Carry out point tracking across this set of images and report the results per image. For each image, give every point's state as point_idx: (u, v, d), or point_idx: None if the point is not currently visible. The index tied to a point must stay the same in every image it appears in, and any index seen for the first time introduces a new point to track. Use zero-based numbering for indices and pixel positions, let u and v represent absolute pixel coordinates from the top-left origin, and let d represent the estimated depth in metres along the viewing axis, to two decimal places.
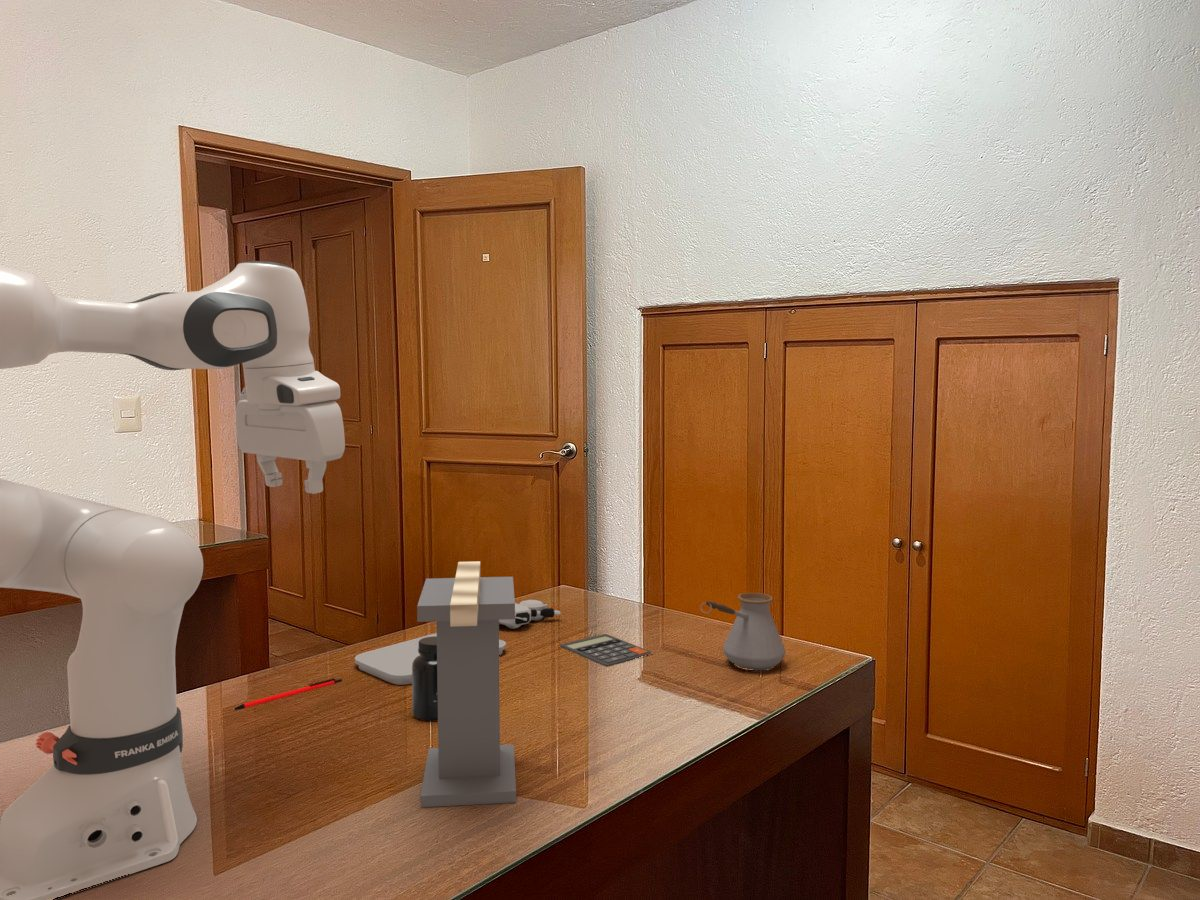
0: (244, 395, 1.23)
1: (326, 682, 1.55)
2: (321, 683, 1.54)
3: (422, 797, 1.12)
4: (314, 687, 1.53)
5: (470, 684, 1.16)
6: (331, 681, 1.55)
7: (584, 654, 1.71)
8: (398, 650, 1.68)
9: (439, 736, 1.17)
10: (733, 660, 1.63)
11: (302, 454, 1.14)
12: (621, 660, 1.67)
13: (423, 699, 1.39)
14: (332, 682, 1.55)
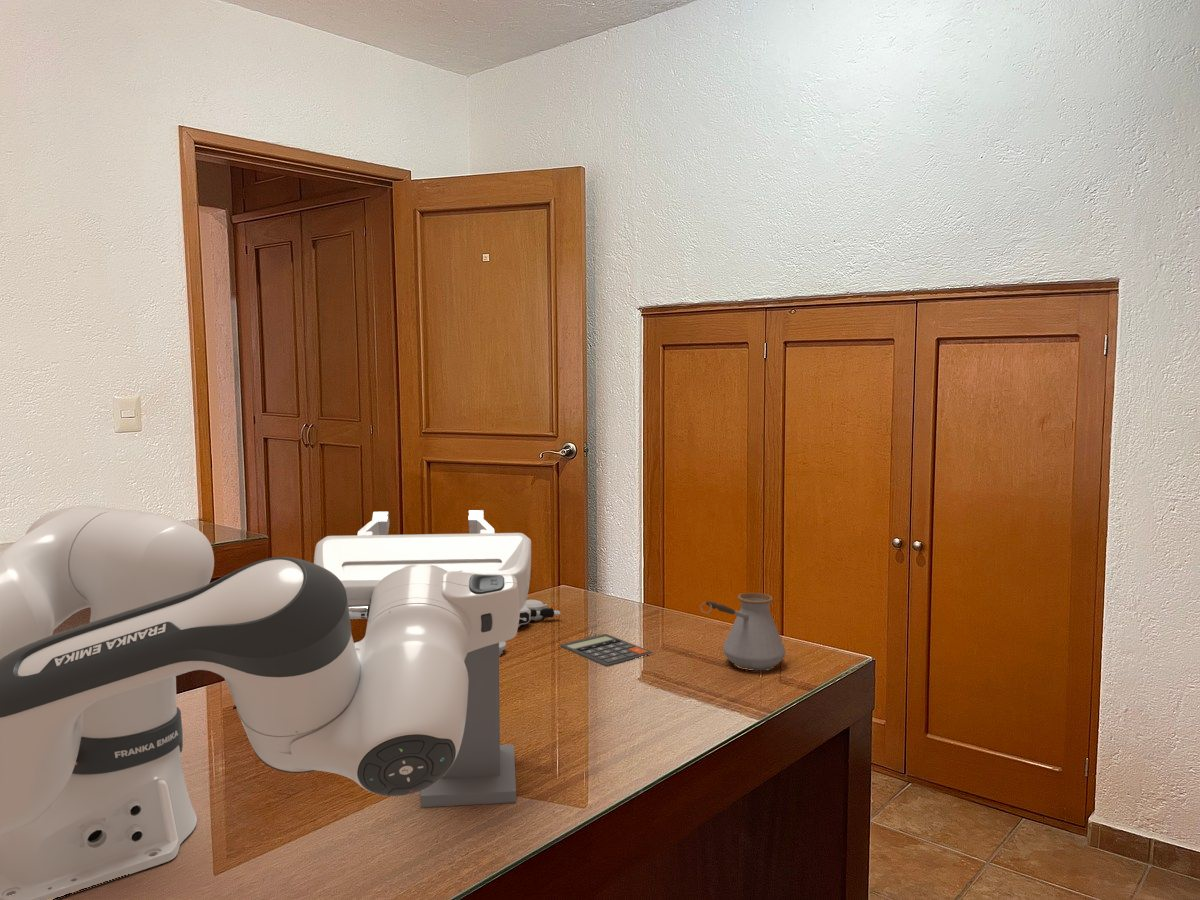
0: None
1: None
2: None
3: (422, 797, 1.12)
4: None
5: (470, 684, 1.16)
6: None
7: (584, 654, 1.71)
8: None
9: None
10: (733, 660, 1.63)
11: None
12: (621, 660, 1.67)
13: None
14: None
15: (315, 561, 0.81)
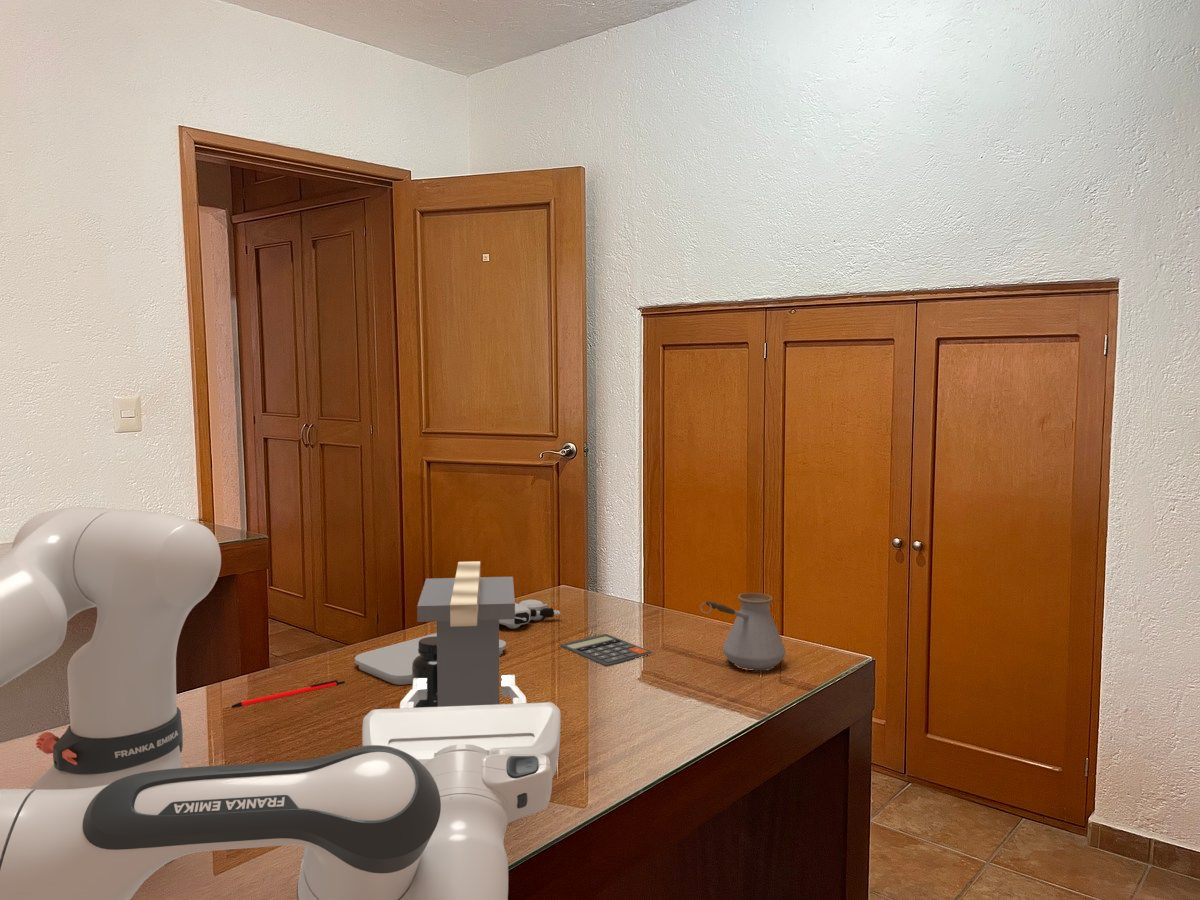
0: None
1: (328, 683, 1.54)
2: (322, 684, 1.53)
3: None
4: (315, 688, 1.52)
5: (470, 684, 1.16)
6: (333, 683, 1.54)
7: (584, 654, 1.71)
8: (398, 650, 1.68)
9: None
10: (733, 660, 1.63)
11: None
12: (621, 660, 1.67)
13: None
14: (334, 684, 1.54)
15: (363, 739, 0.88)
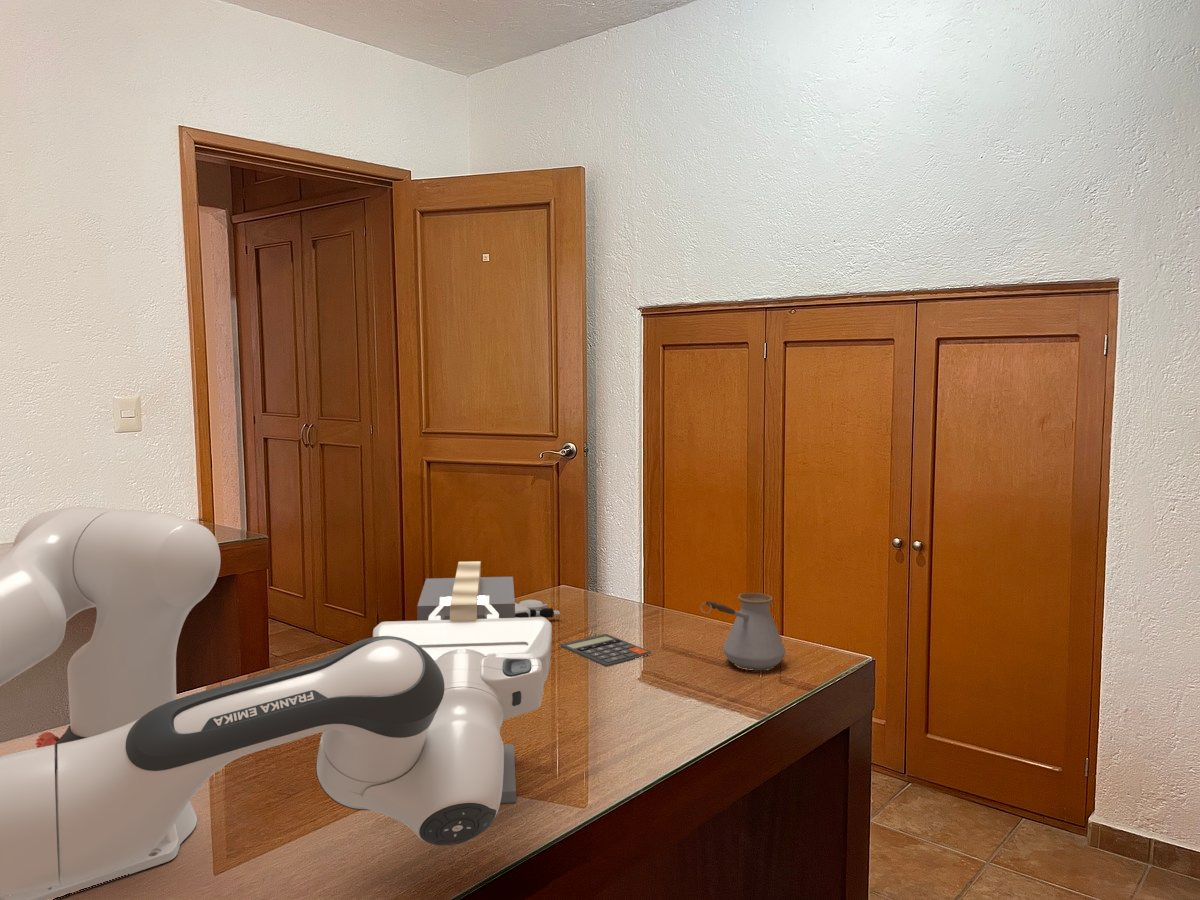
0: None
1: None
2: None
3: None
4: None
5: None
6: None
7: (584, 654, 1.71)
8: None
9: None
10: (733, 660, 1.63)
11: None
12: (621, 660, 1.67)
13: None
14: None
15: None
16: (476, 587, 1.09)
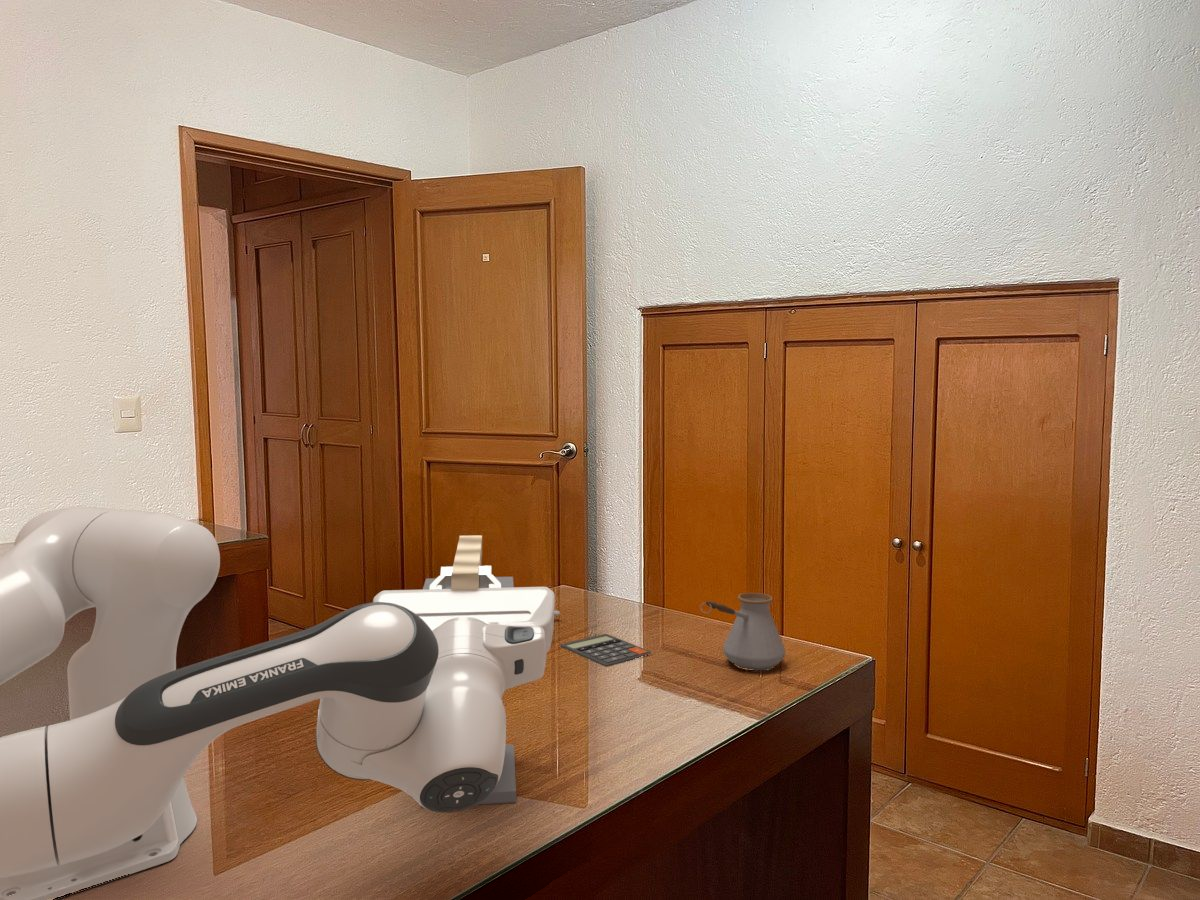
0: None
1: None
2: None
3: None
4: None
5: None
6: None
7: (584, 654, 1.71)
8: None
9: None
10: (733, 660, 1.63)
11: None
12: (621, 660, 1.67)
13: None
14: None
15: None
16: (478, 558, 1.08)
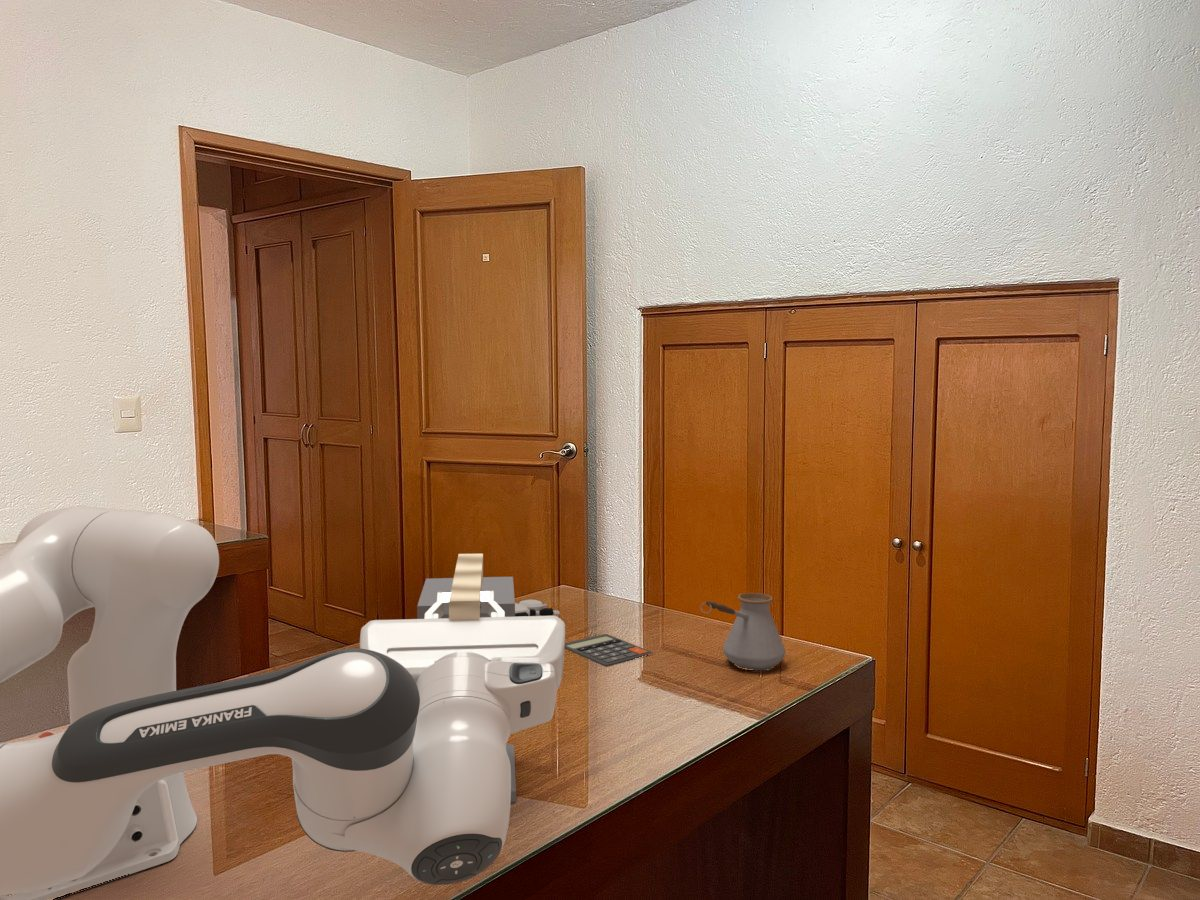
0: None
1: None
2: None
3: None
4: None
5: None
6: None
7: (584, 654, 1.71)
8: None
9: None
10: (733, 660, 1.63)
11: None
12: (621, 660, 1.67)
13: None
14: None
15: (361, 647, 0.85)
16: (479, 581, 0.97)
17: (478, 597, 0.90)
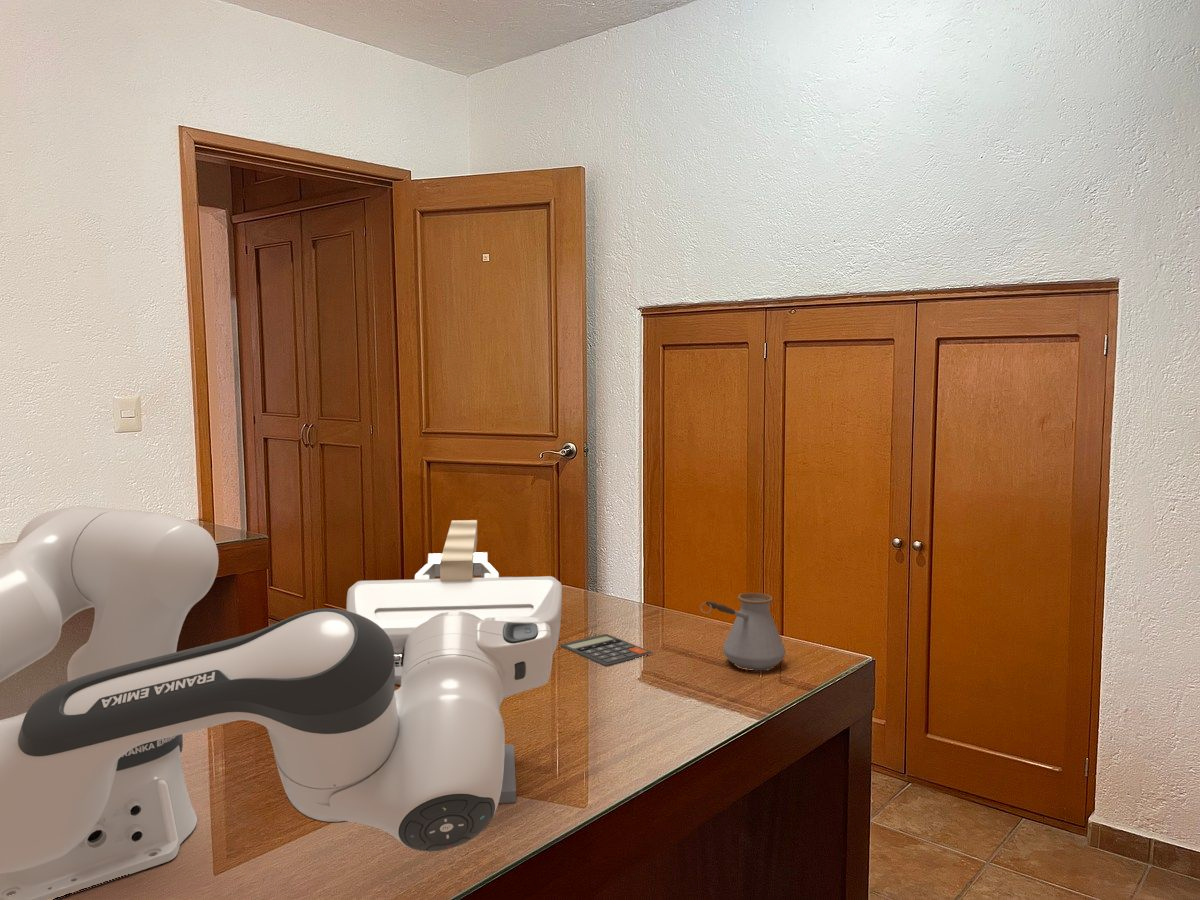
0: None
1: None
2: None
3: None
4: None
5: None
6: None
7: (584, 654, 1.71)
8: None
9: None
10: (733, 660, 1.63)
11: None
12: (621, 660, 1.67)
13: None
14: None
15: (348, 608, 0.81)
16: (472, 544, 0.93)
17: (471, 557, 0.86)
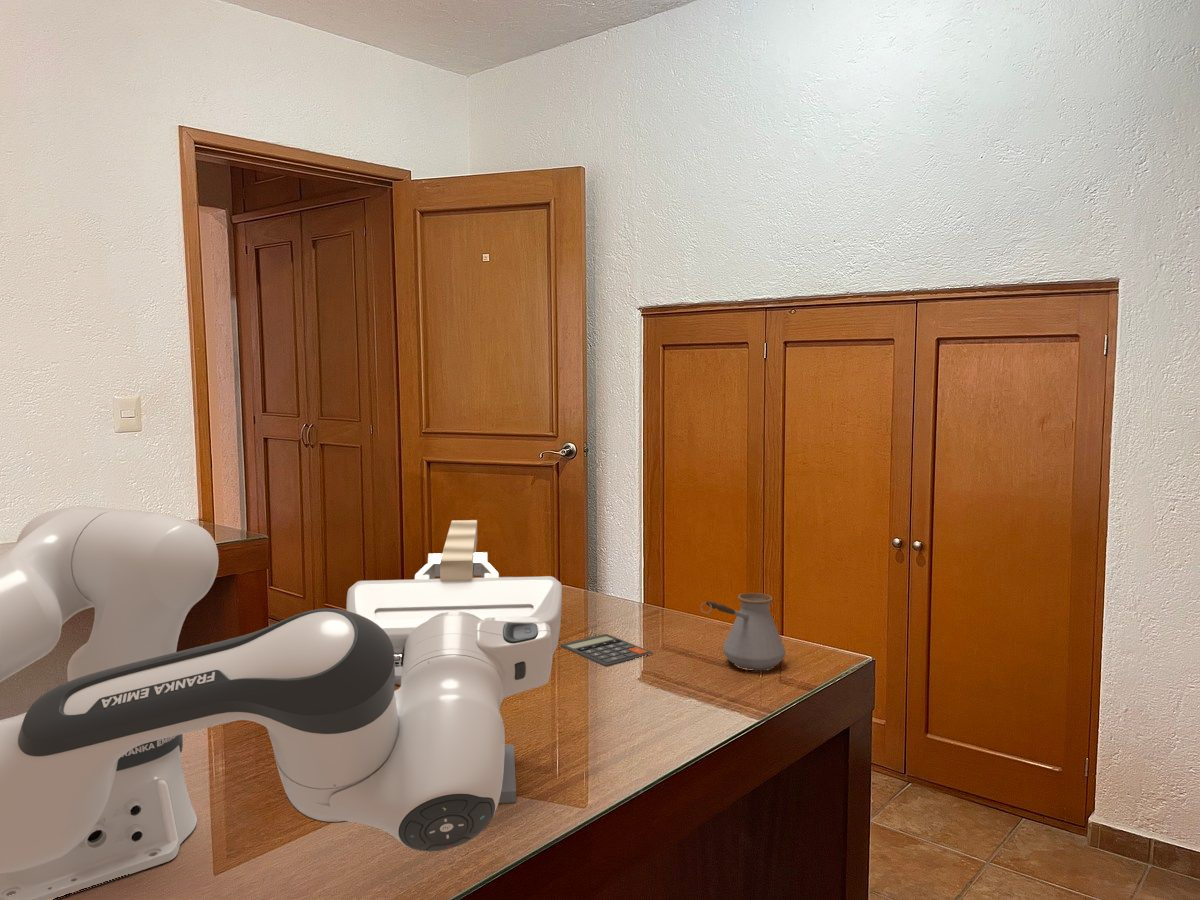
0: None
1: None
2: None
3: None
4: None
5: None
6: None
7: (584, 654, 1.71)
8: None
9: None
10: (733, 660, 1.63)
11: None
12: (620, 660, 1.67)
13: None
14: None
15: (348, 608, 0.81)
16: (472, 544, 0.93)
17: (471, 557, 0.86)
